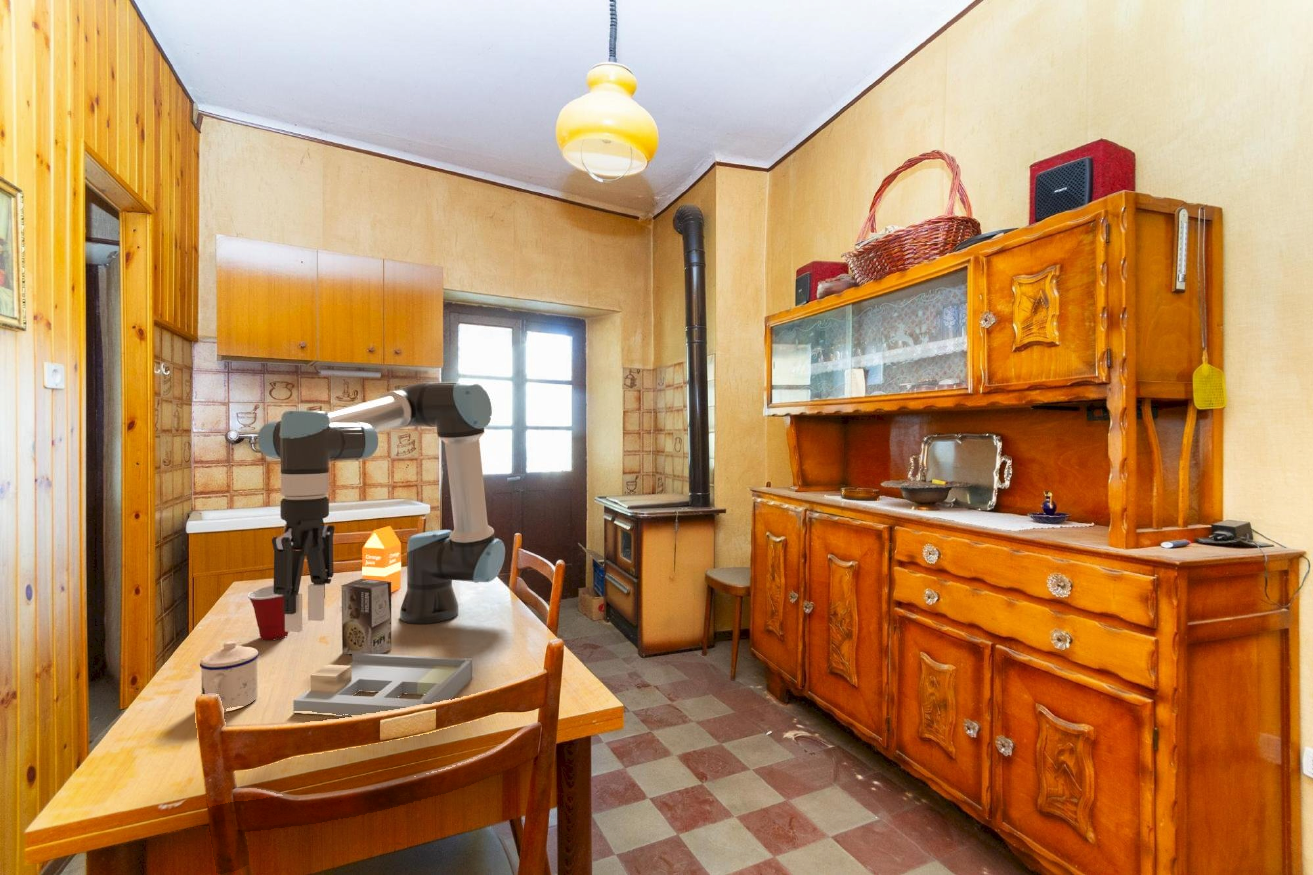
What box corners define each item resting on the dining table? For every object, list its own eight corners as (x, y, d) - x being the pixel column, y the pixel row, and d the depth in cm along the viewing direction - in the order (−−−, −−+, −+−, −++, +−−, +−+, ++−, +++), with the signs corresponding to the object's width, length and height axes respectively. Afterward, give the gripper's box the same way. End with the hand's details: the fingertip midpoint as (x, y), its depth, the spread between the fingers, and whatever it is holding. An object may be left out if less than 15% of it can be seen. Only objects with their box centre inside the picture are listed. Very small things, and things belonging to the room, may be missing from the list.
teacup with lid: (213, 695, 117) (213, 635, 117) (266, 690, 119) (266, 632, 119) (182, 725, 105) (182, 659, 105) (241, 719, 108) (241, 654, 108)
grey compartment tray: (355, 671, 129) (355, 652, 129) (472, 677, 127) (472, 658, 126) (291, 714, 110) (291, 693, 110) (428, 723, 107) (428, 701, 107)
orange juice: (361, 594, 187) (361, 529, 186) (379, 586, 195) (379, 525, 195) (384, 595, 185) (384, 531, 185) (401, 588, 194) (401, 526, 194)
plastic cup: (241, 636, 149) (241, 588, 148) (291, 626, 157) (291, 580, 156) (253, 648, 141) (253, 597, 141) (305, 636, 149) (305, 588, 149)
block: (327, 679, 119) (327, 664, 119) (351, 680, 118) (351, 665, 118) (310, 690, 114) (310, 674, 114) (335, 692, 114) (335, 676, 113)
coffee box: (392, 649, 142) (393, 581, 142) (371, 659, 136) (371, 588, 135) (362, 644, 145) (362, 577, 145) (340, 653, 139) (340, 584, 138)
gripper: (318, 490, 117) (318, 608, 118) (246, 502, 99) (246, 642, 100) (355, 491, 117) (355, 610, 117) (288, 503, 99) (288, 644, 99)
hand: (305, 625), depth 108 cm, fingers open, 5 cm apart
